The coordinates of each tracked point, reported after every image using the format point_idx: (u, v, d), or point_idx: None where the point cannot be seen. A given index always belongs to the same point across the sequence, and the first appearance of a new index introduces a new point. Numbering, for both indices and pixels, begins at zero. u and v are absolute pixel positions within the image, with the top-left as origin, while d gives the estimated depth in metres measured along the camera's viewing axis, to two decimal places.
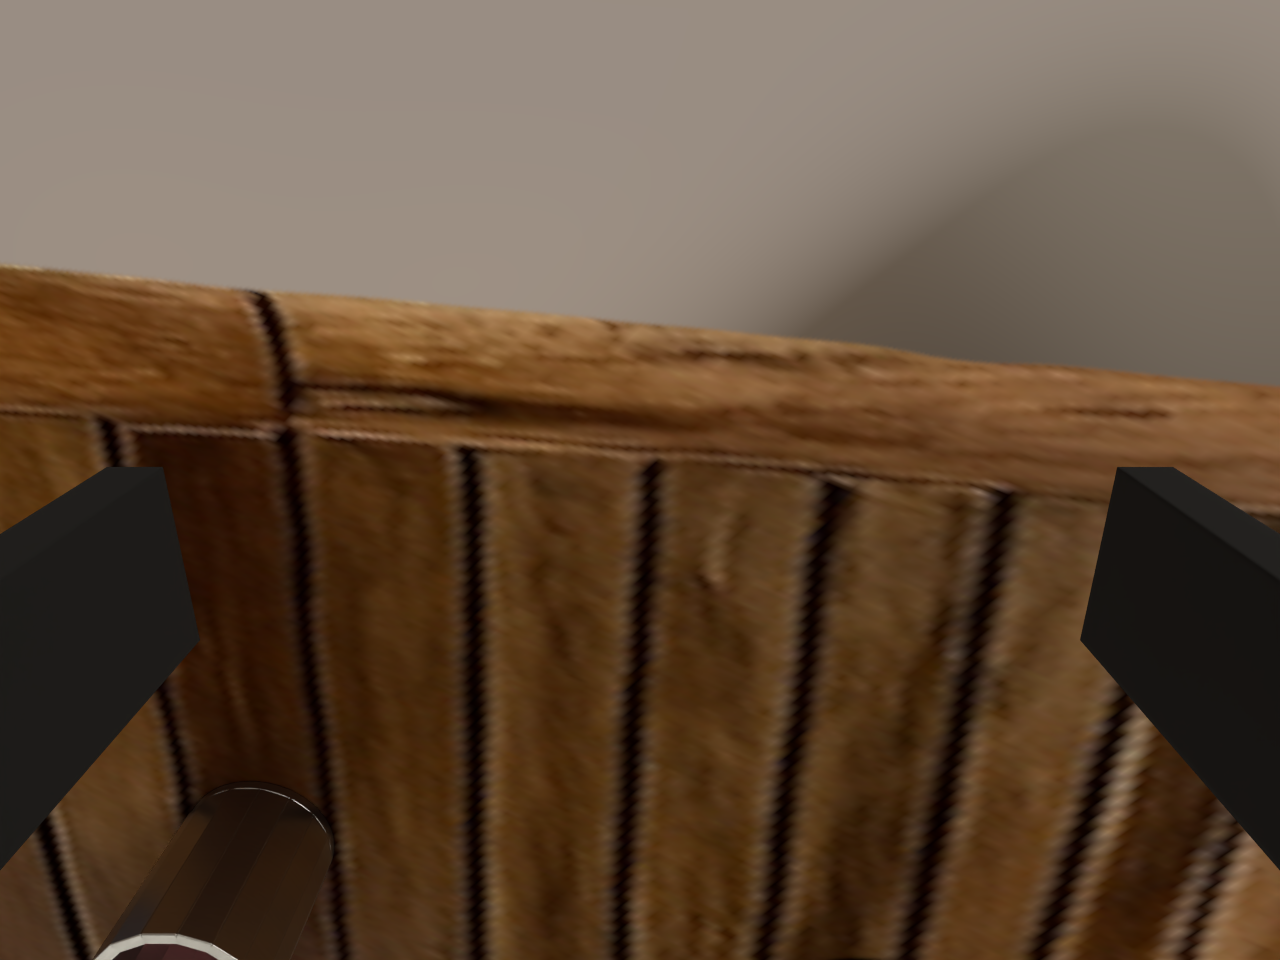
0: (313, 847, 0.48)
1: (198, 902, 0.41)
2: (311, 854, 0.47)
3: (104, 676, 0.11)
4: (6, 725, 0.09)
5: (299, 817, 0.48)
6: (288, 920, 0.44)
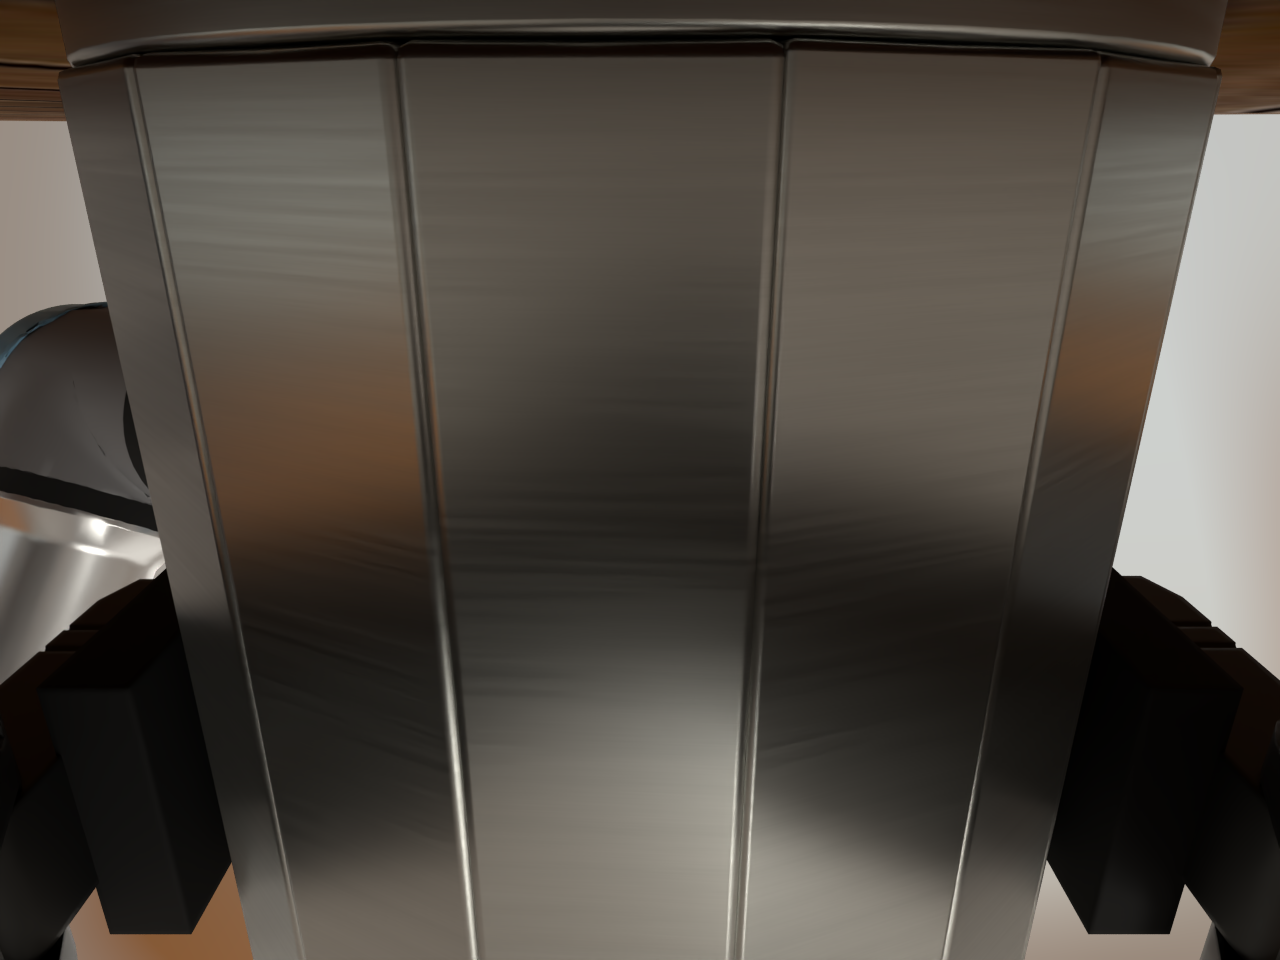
0: (1126, 344, 0.05)
1: None
2: (1116, 410, 0.05)
3: None
4: None
5: (968, 228, 0.04)
6: (1039, 859, 0.07)
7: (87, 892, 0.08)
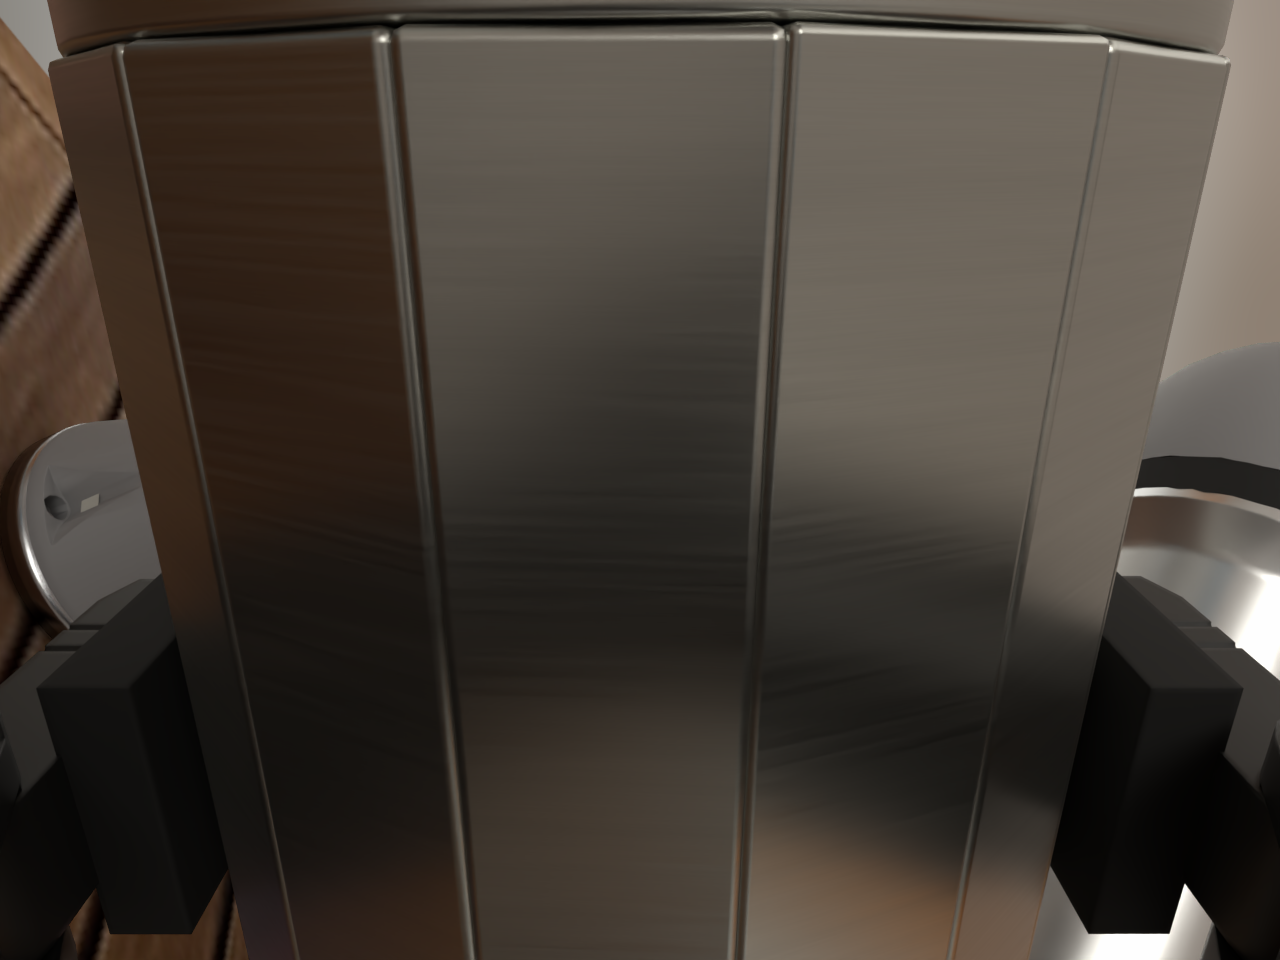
0: (1133, 337, 0.05)
1: None
2: (1123, 405, 0.05)
3: None
4: None
5: (973, 217, 0.04)
6: (1044, 860, 0.07)
7: (87, 892, 0.08)
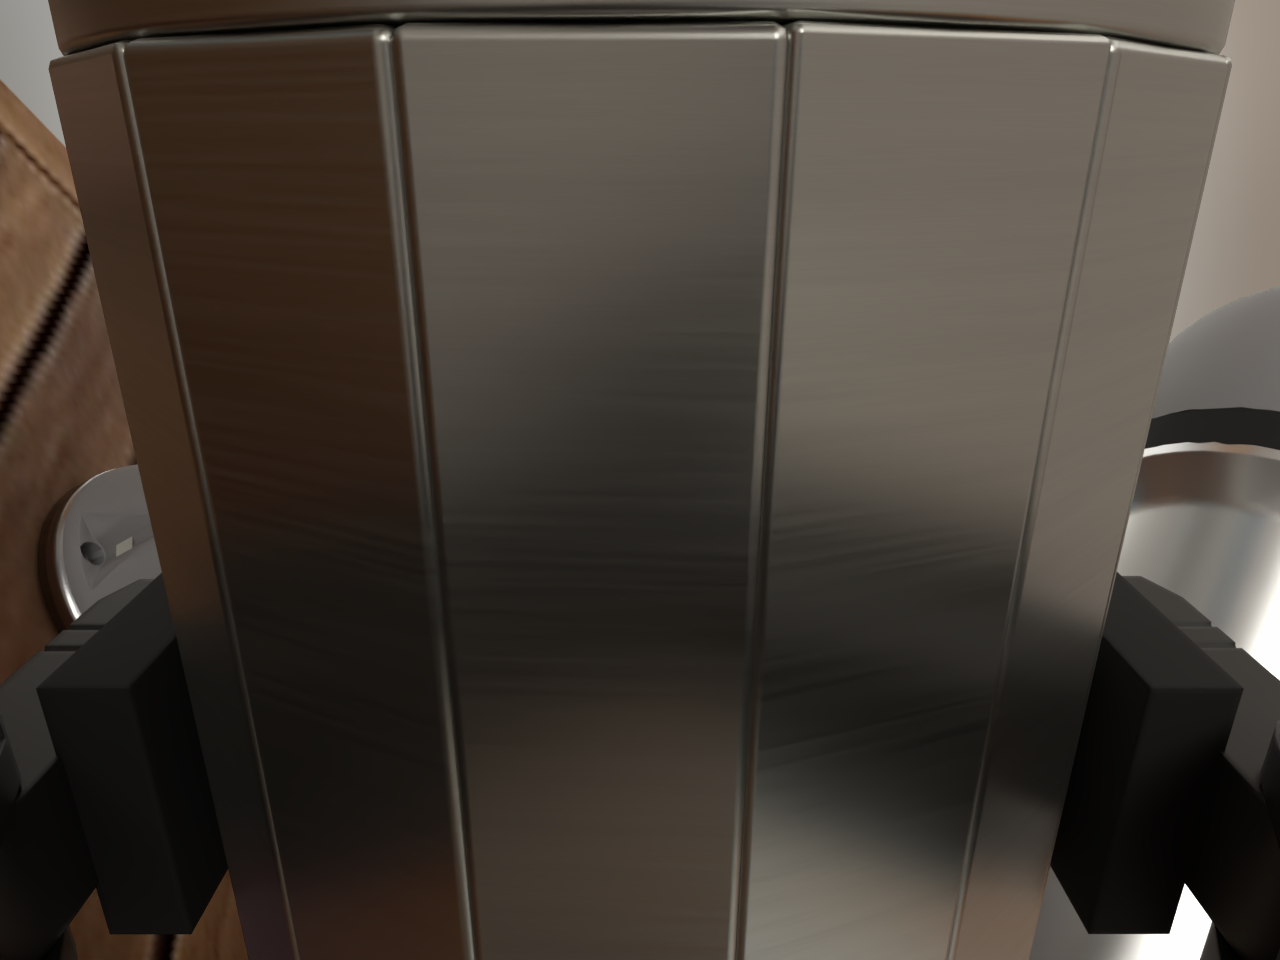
0: (1133, 337, 0.05)
1: None
2: (1124, 405, 0.05)
3: None
4: None
5: (975, 217, 0.04)
6: (1044, 860, 0.07)
7: (87, 891, 0.08)
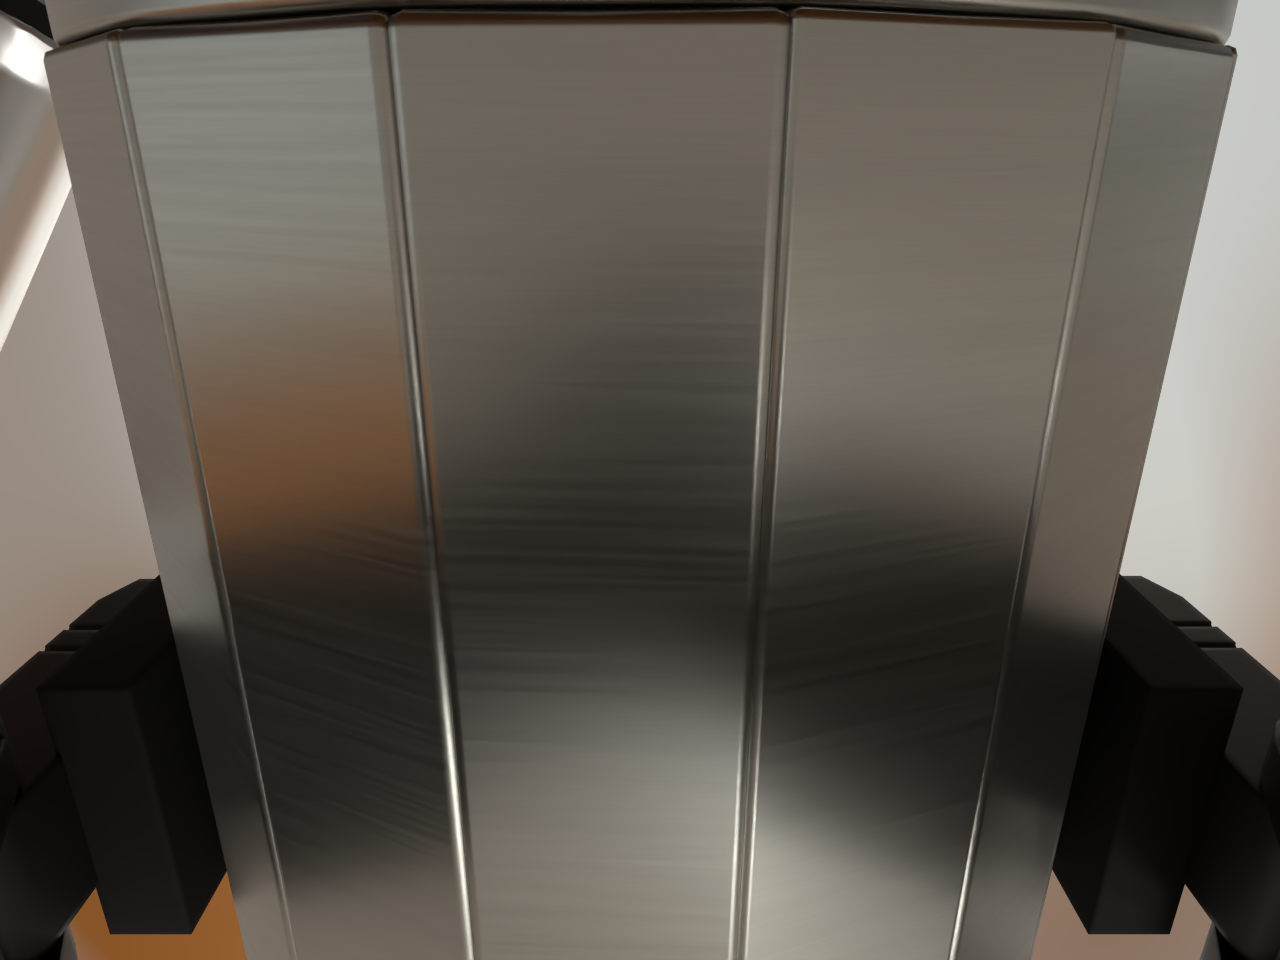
0: (1138, 330, 0.05)
1: None
2: (1128, 399, 0.05)
3: None
4: None
5: (978, 206, 0.04)
6: (1047, 858, 0.07)
7: (88, 891, 0.08)
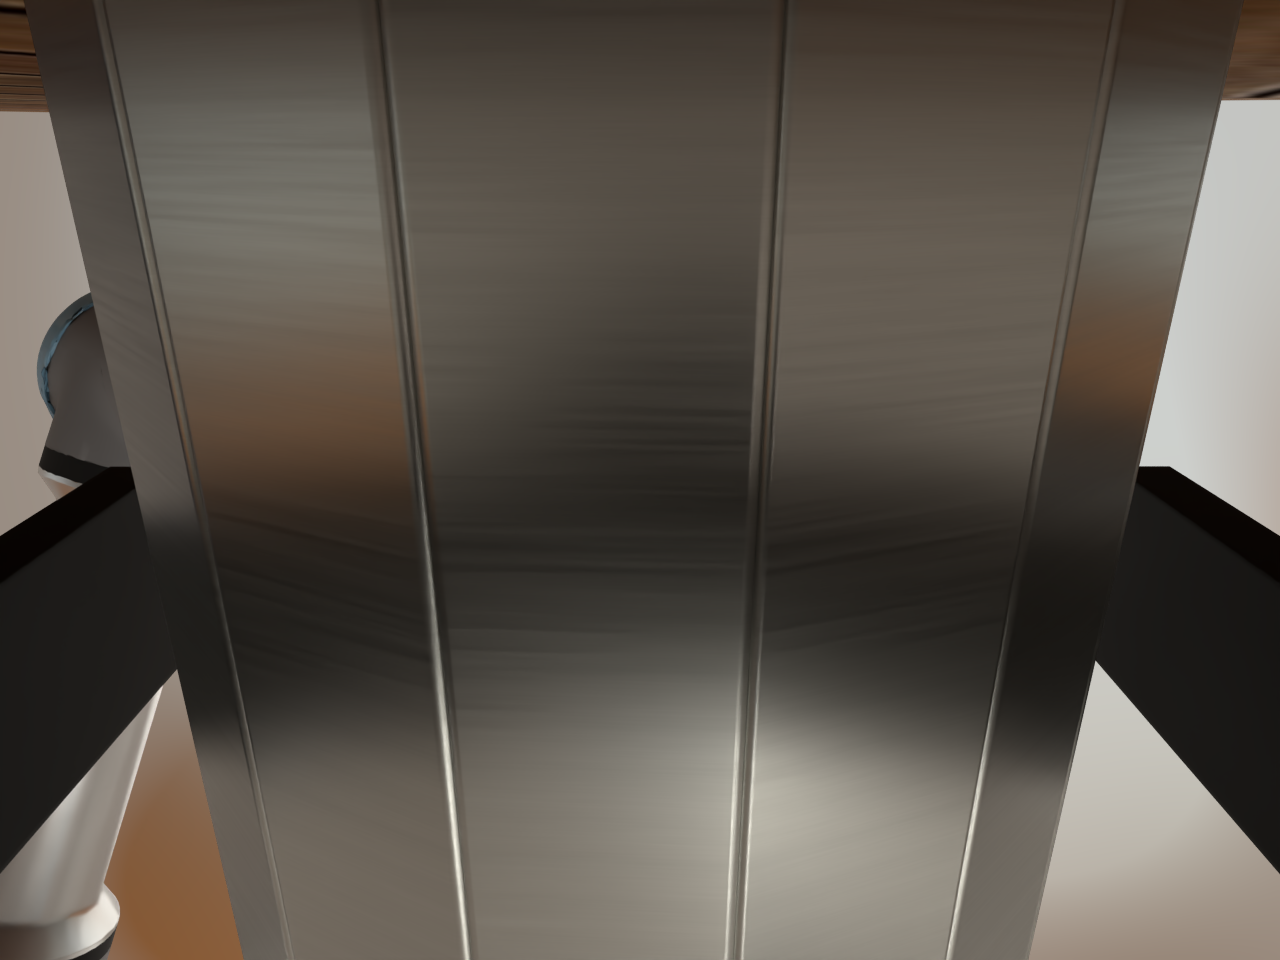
0: (1160, 201, 0.05)
1: None
2: (1148, 278, 0.05)
3: (108, 675, 0.11)
4: (10, 723, 0.09)
5: (996, 31, 0.04)
6: (1059, 786, 0.07)
7: None
